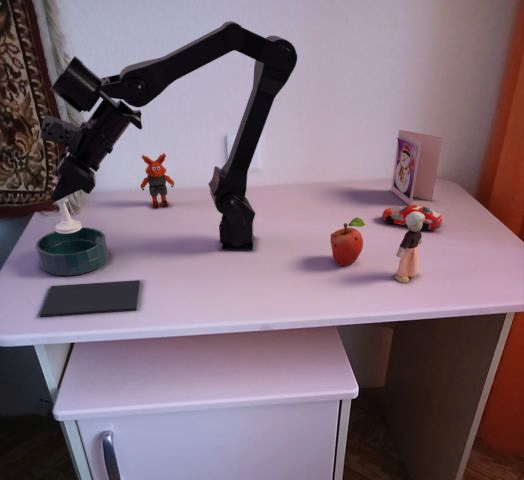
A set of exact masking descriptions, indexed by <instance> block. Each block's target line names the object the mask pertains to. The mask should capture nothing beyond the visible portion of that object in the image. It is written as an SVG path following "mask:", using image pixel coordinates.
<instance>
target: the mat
mask: <svg viewBox="0 0 524 480" xmlns="http://www.w3.org/2000/svg"><path fill="white" fill-rule="evenodd" d="M140 285H141V280H140V279H136V280H123V281H121V280H120V281H109V282H108V281H107V282H92V283H90V282H89V283H77V284H60V285H50V288H49V291H48V293H47V296H46V298H45V301H44V304H43V307H42V308H41V311H40V313H39V316H40V318H45V317H48V318H49V317H60V316H61V317H62V316H75V315H87V314H101V313H102V314H103V313H117V312H131V311H137V307H138V300H139V293H140Z"/></svg>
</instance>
